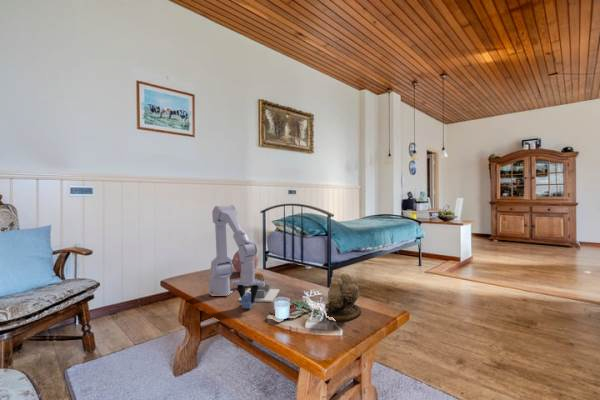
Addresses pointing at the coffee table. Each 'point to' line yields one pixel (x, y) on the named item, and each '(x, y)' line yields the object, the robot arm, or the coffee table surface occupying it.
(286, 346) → the coffee table surface
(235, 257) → the balloon
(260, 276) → the lion figurine
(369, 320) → the coffee table surface
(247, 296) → the block
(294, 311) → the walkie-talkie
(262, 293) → the pocket plate
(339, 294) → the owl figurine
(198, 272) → the coffee table surface
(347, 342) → the coffee table surface
